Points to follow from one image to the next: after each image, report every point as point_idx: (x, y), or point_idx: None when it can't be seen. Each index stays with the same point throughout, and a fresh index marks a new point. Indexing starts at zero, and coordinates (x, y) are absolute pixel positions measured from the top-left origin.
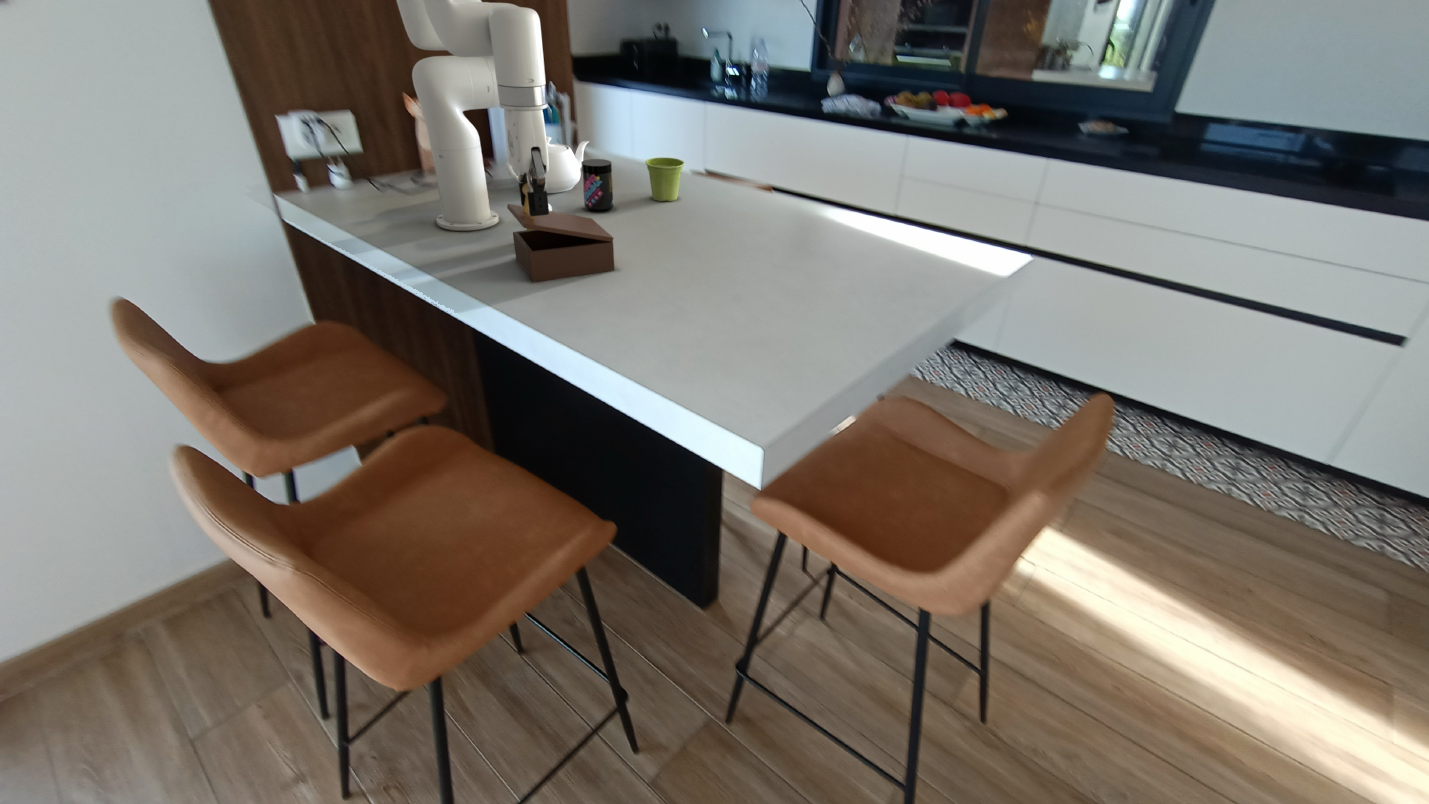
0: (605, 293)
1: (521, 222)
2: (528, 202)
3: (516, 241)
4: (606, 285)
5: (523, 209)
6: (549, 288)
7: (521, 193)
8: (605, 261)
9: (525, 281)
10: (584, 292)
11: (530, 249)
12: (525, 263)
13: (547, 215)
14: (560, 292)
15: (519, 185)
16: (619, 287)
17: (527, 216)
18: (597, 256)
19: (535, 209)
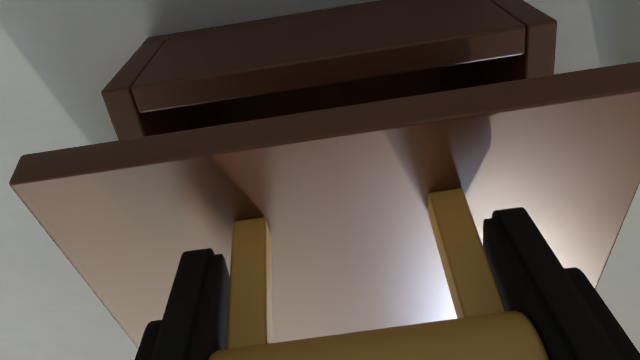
0: (13, 289)
1: (108, 154)
2: (182, 326)
3: (451, 25)
4: (93, 301)
5: (528, 190)
6: (69, 103)
7: (537, 291)
8: None
9: (167, 2)
10: (22, 226)
11: (169, 104)
12: (260, 34)
13: (450, 302)
14: (21, 142)
15: (593, 350)
16: (72, 334)
17: (297, 207)
18: None
19: (149, 326)
